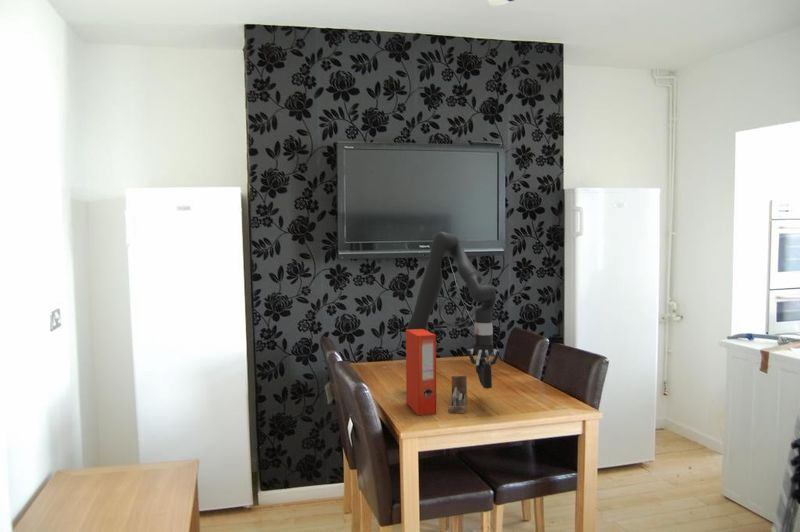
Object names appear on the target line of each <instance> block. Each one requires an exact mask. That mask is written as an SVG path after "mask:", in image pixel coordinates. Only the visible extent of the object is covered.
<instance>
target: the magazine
mask: <svg viewBox="0 0 800 532" xmlns="http://www.w3.org/2000/svg"><path fill="white" fill-rule="evenodd" d="M477 375H478V379H479V383H480V384H481V386H482V387H483V389H486V390H487V389H492V388H493V384H492V381H493V380H492V378H493V377H492V367H491V368H490V365H489V364H488V362H487V359H486V358H485V357H482V358H480V361H479V374H478V373H477Z"/></svg>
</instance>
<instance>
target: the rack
mask: <svg viewBox="0 0 800 532" xmlns="http://www.w3.org/2000/svg"><path fill="white" fill-rule="evenodd" d="M467 378H468V376H467V375H451V394H450V400H449V405H448V413H449V414H466V410H467V409H466V408H467V400H468V399H467V398H468V389H467V387H468V383H467V380H468V379H467ZM455 388H457V390H460V393H462V398H463V404H462V407H461V406H453V393H454V389H455Z"/></svg>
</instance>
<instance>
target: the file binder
mask: <svg viewBox="0 0 800 532" xmlns="http://www.w3.org/2000/svg"><path fill="white" fill-rule="evenodd" d="M405 367H406V368H405V371H406V372H405V373H406V374H405V375H406V376H405V380H406V381H405V383H406V384H405V389H406V391H405V392H406V393H405V394H406V396H405V397H406V405H408V407H410V408H411V410H412V411H413V412H414V413H416V414H417V415H418V416H427V415H428V414H430V415H436V414H437V335H436V334H435V333H432V332H430V331H429V332H428V331H426V330H424V329H410V330H406V329H405Z"/></svg>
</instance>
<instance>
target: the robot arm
mask: <svg viewBox="0 0 800 532" xmlns="http://www.w3.org/2000/svg"><path fill="white" fill-rule="evenodd" d="M430 246H431V247H430V252H429V257H428V261H427V264H426V268H425V271H424V274H423V278H422V281H421V283H420V287H419V290H418V293H417V298H416V301H415V306H414V310H413V313H412V315H411V317H410V319H409V322H408V324H407V327H406V329H405V331H406V330H410V329H424V330H426V331H428V332H430V331H429V327H428V321H429V318H430V315H431V313H432V311H433V309H434V307H435V306H436V303H437V301H438V299H439V296H440V293H441V290H442V287H443V282H444V281H443V273H442V261H443V258H444V255H449V256H450V257H451V258H452V259H453V260H454V262H455V263H456V267H457V271H458V274H459V275H460V278H461V279H462V281H464V283H465V285H466V286H467V290H468V293H469V295H470V298H471V299H472V300H473V301H474V302H476V303H480V304H481V306H480V307H478V308H476V309H475V311H474V330H473V333H474V338H473V339H474V345H473V347H472V348H471V349H469V348H468V349H467V351H466V352H467V354H468V357H469V360H470V361H471V364H472V365H475V373H477V375H478V374H479V361H480V358H482V357H485V359H486V362H487V363H488V364H489V365H490V368H491V369H492V365H496V362H497V360H498V358H499V355H500V350H499V349H496V348H494V345H493V343H494V342H493V340H494V339H493V338H494V336H493V335H494V334H493V333H494V331H493V328H494V327H493V310H494V306H495V303H496V299H497V291H496V288H495V287H494V286H493V285H492V284H483V285H482V284H481V283H482V280H483V279H482V275H481V274H480V272H478V270H477V269H476V267H475V266H474V265H473V263H472V262H471V260H470V259H469V258H468V255H467V254H466V251H465V249H464V248H463V245H462V243H461V242H460V240H459V238H458V236H456V235H455V234H452V233H449V232H445V231H438V232H437V233H436V234H435V235H434V237H433V239H432V242H431V245H430ZM474 353H475V354H476V360H475V358H474V356H473V354H474ZM492 353H493V356H494V357H493V359H492V360H491V358H490V357H491V355H492Z"/></svg>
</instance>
